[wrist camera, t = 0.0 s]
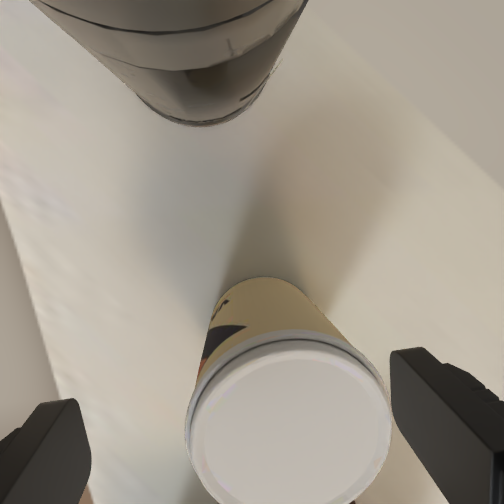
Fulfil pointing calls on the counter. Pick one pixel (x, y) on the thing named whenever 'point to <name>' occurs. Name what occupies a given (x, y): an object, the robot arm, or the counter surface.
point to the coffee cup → (284, 403)
